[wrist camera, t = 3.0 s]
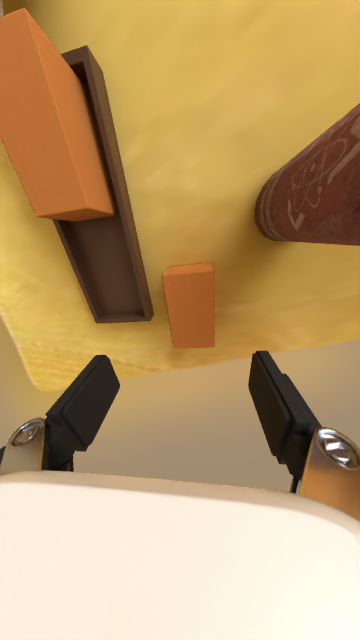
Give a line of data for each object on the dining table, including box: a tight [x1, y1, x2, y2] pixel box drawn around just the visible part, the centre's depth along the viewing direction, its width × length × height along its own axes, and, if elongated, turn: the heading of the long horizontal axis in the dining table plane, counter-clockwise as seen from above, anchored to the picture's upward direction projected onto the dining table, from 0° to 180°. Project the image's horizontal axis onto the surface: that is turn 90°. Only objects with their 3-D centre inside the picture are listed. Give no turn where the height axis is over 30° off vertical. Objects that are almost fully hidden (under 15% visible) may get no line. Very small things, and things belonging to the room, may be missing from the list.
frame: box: [53, 45, 154, 323], centre depth 17 cm, size 8×22×2 cm, turn 6°
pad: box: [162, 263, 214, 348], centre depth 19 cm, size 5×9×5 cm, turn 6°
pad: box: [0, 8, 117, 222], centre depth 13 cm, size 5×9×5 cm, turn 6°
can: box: [255, 103, 360, 246], centre depth 9 cm, size 6×6×14 cm
